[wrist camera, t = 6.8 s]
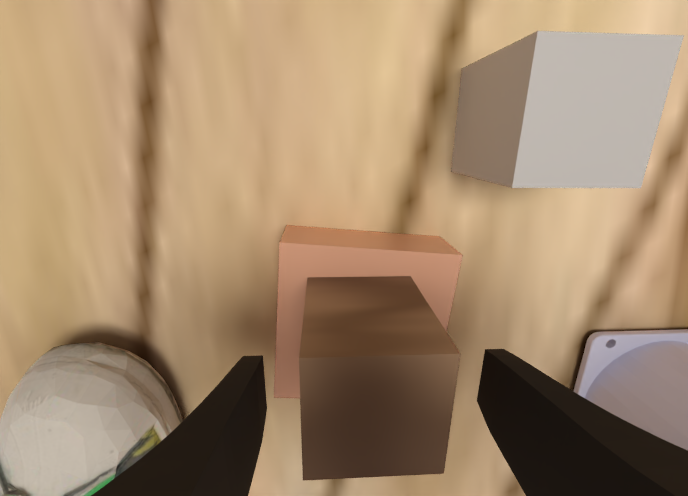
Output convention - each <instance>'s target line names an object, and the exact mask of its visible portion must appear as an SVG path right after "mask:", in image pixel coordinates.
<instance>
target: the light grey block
mask: <svg viewBox="0 0 688 496" xmlns="http://www.w3.org/2000/svg"><path fill="white" fill-rule="evenodd" d="M683 37H684V35H651V34H619V33H586V32H554V31H537V32H535V33H533V34H531V35H529V36H527V37H525V38H523V39H521V40H519V41H517V42H515V43H513V44H511V45H509V46H506V47H504V48H502V49H500V50H498V51H496V52H494V53H492V54H490V55H488V56H486V57H484V58H482V59H480V60H478V61H476V62H474V63H472V64H470V65H468V66H466V67H464V68H462V72H461V82H460V91H459V101H458V110H457V120H456V129H455V138H454V148H453V157H452V167H451V172H454V173H458V174H462V175H466V176H469V177H473V178H477V179H481V180H484V181H488V182H492V183H496V184H500V185H503V186H507V187H511V188H641V186H642V182H643V178H644V175H645V171H646V168H647V164H648V161H649V157H650V154H651V150H652V147H653V143H654V139H655V136H656V132H657V129H658V125H659V122H660V118H661V115H662V111H663V108H664V104H665V100H666V97H667V93H668V90H669V86H670V83H671V79H672V76H673V72H674V68H675V65H676V61H677V58H678V54H679V51H680V47H681V44H682V40H683Z"/></svg>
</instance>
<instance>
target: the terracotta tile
mask: <svg viewBox="0 0 688 496" xmlns="http://www.w3.org/2000/svg"><path fill="white" fill-rule="evenodd" d="M462 256H463V255H462V254H461V253H460V252H458V251H457V250H456V249H455V248H453V247H452V246H451V245H450V244H449V243H447V242H446V241H445V240H444V239H443V238H441V237H439V236H426V235H412V234H399V233H385V232H372V231H358V230H345V229H331V228H318V227H304V226H291V225H286V228H285V230H284V233H283V235H282V238H281V240H280V244H279V272H278V300H277V328H276V356H275V383H274V398H300V375H299V353H300V343H301V334H302V325H303V315H304V306H305V296H306V287H307V277H379V276H411V278H412V279H413V281H414V282H415V284H416V285H417V287H418V289H419V290H420V292H421V293H422V295H423V296H424V298H425V299H426V301H427V303H428V304H429V306H430V307H431V309H432V310H433V312H434V313H435V315H436V317H437V318H438V320H439V321H440V323H441V324H442V326H443V327H444V329H445V331H446V332H447V327H448V323H449V318H450V313H451V308H452V303H453V299H454V294H455V289H456V284H457V280H458V275H459V270H460V265H461V261H462Z"/></svg>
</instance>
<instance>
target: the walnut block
mask: <svg viewBox="0 0 688 496" xmlns="http://www.w3.org/2000/svg"><path fill="white" fill-rule="evenodd" d="M459 360H460V352H459V351H458V349H457V348H456V346H455V345H454V343H453V341H452V340H451V338H450V337H449V335H448V334H447V332H446V331H445V329H444V327H443V326H442V324H441V323H440V321H439V320H438V318H437V317H436V315H435V313H434V312H433V310H432V309H431V307H430V306H429V304H428V303H427V301H426V299H425V298H424V296H423V295H422V293H421V292H420V290H419V289H418V287H417V285H416V284H415V282H414V281H413V279H412V278H411V276H379V277H307V287H306V296H305V306H304V315H303V325H302V334H301V343H300V353H299V375H300V405H301V435H302V465H303V480H321V479H341V478H361V477H381V476H402V475H422V474H442V473H444V468H445V461H446V454H447V447H448V439H449V432H450V425H451V418H452V411H453V404H454V396H455V389H456V382H457V375H458V368H459Z"/></svg>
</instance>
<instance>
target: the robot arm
mask: <svg viewBox="0 0 688 496" xmlns="http://www.w3.org/2000/svg"><path fill="white" fill-rule="evenodd" d="M607 341H608V342H607ZM477 402H478V404H479V407H480V409H481V412H482V414H483V417H484V419H485V421H486V424H487V426H488V428H489V431H490V433H491V434H492V436H493V438H494V440H495V442H496V443H497V445H498V447H499V449H500V451H501V452H502V454H503V456H504V458H505V459H506V461H507V463H508V465H509V466H510V468H511V470H512V472H513V473H514V475H515V477H516V479H517V480H518V482H519V484H520V486H521V487H522V489H523V491H524V493H525V494H526V496H688V329H682V330H645V331H609V332H595V333H593V334H591V335H590V336H589V337H588V339H587V343H586V346H585V350H584V354H583V358H582V361H581V365H580V369H579V373H578V376H577V380H576V384H575V387H574V391H572V390H570V389H568V388H567V387H565V386H563V385H562V384H560V383H559V382H557V381H555V380H554V379H552V378H551V377H549V376H547V375H546V374H544V373H543V372H541V371H539V370H538V369H536V368H535V367H533V366H531V365H530V364H528V363H527V362H525V361H523V360H522V359H520V358H518V357H517V356H515V355H513V354H512V353H510V352H508V351H506V350H504V349H485V354H484V360H483V366H482V372H481V379H480V385H479V391H478V397H477ZM266 411H267V404H266V391H265V378H264V365H263V356H243V357H242V358H241V359H240V360H239V361H238V362H237V363H236V365H235V366H234V367H233V368H232V369H231V370H230V372H229V373H228V374H227V375H226V376H225V377H224V378H223V380H222V381H221V382H220V383H219V384H218V385H217V386H216V387H215V389H214V390H213V391H212V392H211V393H210V394H209V395H208V396H207V397H206V398H205V399H204V400H203V401H202V403H201V404H200V405H199V406H198V407H197V408H196V409H195V410H194V411H193V412H192V413H191V414H190V415H189V416H188V417H187V418H185V419H184V420H183V421H182V422H181V423H180V424H179V425H178V426H177V427H176V428H175V429H174V430H173V431H172V432H171V433H170V434H169V435H168V436H167V437H165V438H164V439H163V440H162V441H161V442H160V443H159V444H157V445H156V446H155V447H154V448H153V449H152V450H150V451H149V452H148V453H147V454H146V455H144V456H143V457H142V458H141V459H139V460H138V461H137V462H136V463H134V464H133V465H132V466H130V467H129V468H128V469H126V470H125V471H124V472H122V473H121V474H120V475H118V476H117V477H116V478H114V479H113V480H112V481H110V482H109V483H108V484H106V485H105V486H104V487H102V488H101V489H100V490H98V491H97V492H95V493H94V494H93V495H91V496H248V493H249V490H250V486H251V482H252V478H253V474H254V470H255V467H256V463H257V459H258V455H259V451H260V447H261V443H262V438H263V432H264V425H265V418H266Z"/></svg>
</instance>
